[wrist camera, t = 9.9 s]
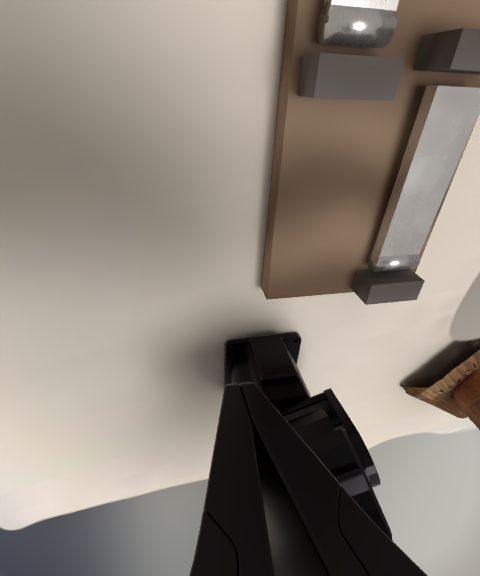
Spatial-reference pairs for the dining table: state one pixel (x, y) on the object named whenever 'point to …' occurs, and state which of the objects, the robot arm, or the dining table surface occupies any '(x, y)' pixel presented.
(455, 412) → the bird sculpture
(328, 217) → the walnut board
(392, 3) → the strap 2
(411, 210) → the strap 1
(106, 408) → the dining table surface
